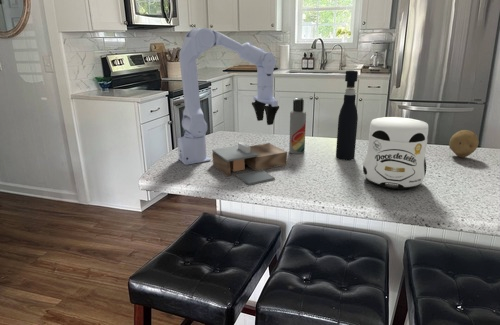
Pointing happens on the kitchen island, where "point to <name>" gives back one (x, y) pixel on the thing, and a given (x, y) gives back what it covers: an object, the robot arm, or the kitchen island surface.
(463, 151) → the potato
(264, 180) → the mat
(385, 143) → the doce de leite jar
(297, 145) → the lotion bottle
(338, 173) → the kitchen island surface
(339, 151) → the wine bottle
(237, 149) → the slide cover
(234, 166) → the block
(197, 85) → the robot arm
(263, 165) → the wooden box
